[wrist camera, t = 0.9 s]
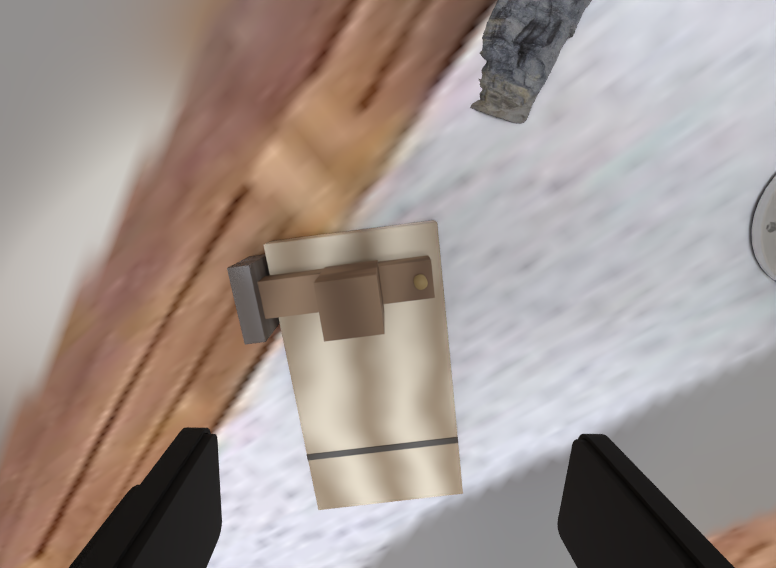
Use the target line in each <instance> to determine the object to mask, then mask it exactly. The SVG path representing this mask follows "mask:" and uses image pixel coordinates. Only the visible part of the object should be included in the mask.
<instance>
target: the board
mask: <svg viewBox="0 0 776 568" xmlns="http://www.w3.org/2000/svg"><path fill="white" fill-rule="evenodd" d="M264 249H265V254H266V259H267V264H268V269H269V273H270V275H277V274H285V273H293V272H301V271H309V270H317V269H324V268H325V267H328V266H336V265H344V264H352V263H359V262H367V261H375V260H378V262H380V261H388V260H395V259H403V258H411V257H419V256H427V255H428V256H429V257H430V259H431V264H432V274H433V284H434V294H435V298H430V299H422V300H414V301H406V302H398V303H390V304H384V321H385V334H382V335H374V336H366V337H358V338H350V339H342V340H334V341H325V342H324V338H323V333H322V327H321V322H320V316H319V312H318V313H310V314H302V315H294V316H286V317H279V322H280V327H281V331H282V336H283V341H284V346H285V351H286V355H287V360H288V365H289V370H290V375H291V380H292V384H293V389H294V394H295V399H296V404H297V409H298V413H299V418H300V423H301V428H302V433H303V438H304V442H305V447H306V452H307V459H308V462H309V466H310V471H311V476H312V481H313V486H314V491H315V495H316V500H317V505H318V510H323V509H332V508H341V507H349V506H358V505H367V504H376V503H384V502H393V501H402V500H411V499H419V498H428V497H437V496H446V495H454V494H463V490H462V479H461V469H460V458H459V448H458V437H457V427H456V416H455V406H454V395H453V385H452V374H451V364H450V353H449V342H448V332H447V321H446V311H445V300H444V290H443V279H442V269H441V258H440V248H439V237H438V227H437V222H436V221H434V220H431V221H423V222H415V223H408V224H400V225H392V226H384V227H377V228H369V229H361V230H353V231H346V232H338V233H330V234H322V235H315V236H307V237H299V238H291V239H283V240H276V241H270V242H268V243H266V244H264Z"/></svg>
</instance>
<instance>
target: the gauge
mask: <svg viewBox="0 0 776 568" xmlns="http://www.w3.org/2000/svg"><path fill="white" fill-rule="evenodd" d="M227 270H228V274H229V279H230V283H231V287H232V292H233V296H234V300H235V304H236V309H237V313H238V317H239V321H240V326H241V330H242V334H243V339H244V343H245V344H252V343H260V342H266V340H267V339H268V338H269V336H270V335H271V334H272V333H273V331H274V330H275V329H276V327H277V326H278V325H279V323H280V322H279V317H286V316H294V315H302V314H310V313H318V312H319V316H320V322H321V327H322V333H323V338H324V342H325V341H334V340H342V339H350V338H358V337H366V336H374V335H382V334H385V321H384V304H390V303H398V302H406V301H414V300H422V299H430V298H435V294H434V284H433V274H432V264H431V259H430V257H429V256H428V255H427V256H419V257H411V258H403V259H395V260H388V261H380V262H378V260H375V261H367V262H359V263H352V264H344V265H336V266H328V267H325V268H324V269H317V270H309V271H301V272H293V273H285V274H277V275H270V273H269V269H268V264H267V259H266V254H265V255H257V256H249V257H247V258H245V259H243V260H242V261H240V262H238V263H236V264H234V265H232V266H230V267H228V268H227Z"/></svg>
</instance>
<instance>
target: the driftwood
mask: <svg viewBox="0 0 776 568" xmlns="http://www.w3.org/2000/svg"><path fill="white" fill-rule="evenodd" d="M591 1H592V0H498V2H497V4H496V6H495V8H494V10H493V12H492V14H491V17H490V19H489V21H488V22H487V26H486V29H485V31H484V33H483V34H484V35H483V37H482V39H483V48H482V51H481V52H480V54H481V56H482V57H483V58H484V59H485V60H486V61H487V63H486V64H485V66H484V67H483V69H482V78H481V80H480V79H479V78H478V79H479V80H480V87H481V88H482V92H481V93H480V100H478V101H476V102H475V103H473V104H472V105H471V107H470V108H472V109H473V108H474V109H476V110H479V111H481V112H484V113H486V114H488V115H489V114H490V115H493V116H495V117H498V118H503V119H505V120H508V121H511V122H514V123H524V122H525V121H526V120H527V118H528V115H529V111H530V109H531V106H532V104H533V103H534V101H535V99H536V97H537V95H538V93H539V91H540V90H541V88H542V86H543V85H544V84H545V82H546V80H547V78H548V76H549V74H550V73H551V70H552V68H553V66H554V64H555V62H556V59H557V57H558V55H559V53H560V50H561V48H562V47H563V45H564V43H565V42H566V40H567V38H568V37H572V36H573V34H574V32H575V29H576V28H577V24H578V23H579V21H580V18H581V16H582V14H583V12H584V10H585V8H586V7H587V6H588V5H589V4H590V2H591Z"/></svg>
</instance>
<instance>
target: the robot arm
mask: <svg viewBox="0 0 776 568" xmlns="http://www.w3.org/2000/svg"><path fill="white" fill-rule="evenodd" d="M752 245H753V249H754V253H755V257H756V259H757V261H758V262H759V264H760V266H761V268H762V269H763V270H764V271H765V272H766V273H767V275H768V276H769V277H771V278H772V279H774V280H775V281H776V176H775V177H774V178H773V180H772V181H771V182H770V184H769V185H768V186H767V188H766V189H765V191H764V193H763V195H762V197H761V199H760V201H759V203H758V206H757V209H756V212H755V215H754V219H753V225H752ZM221 526H222V514H221V496H220V478H219V460H218V441H217V436H216V434H211V433H210V430H209V429H208V428H183V429H182V430H181V431H180V433H179V434H178V435H177V437H176V438H175V439H174V441H173V442H172V443H171V445H170V446H169V447H168V449H167V450H166V451H165V452H164V454H163V455H162V456H161V458H160V459H159V460H158V462H157V463H156V464H155V466H154V467H153V468H152V470H151V471H150V472H149V474H148V475H147V476H146V477H145V479H144V480H143V481H142V483H141V484H140V485H136V486H134V487H132V488H131V489H130V490H129V491H128V492H127V494H126V495H125V496H124V498H123V499H122V500H121V501H120V503H119V504H118V505H117V506H116V508H115V509H114V510H113V512H112V513H111V514H110V515H109V517H108V518H107V519H106V521H105V522H104V523H103V524H102V526H101V527H100V528H99V530H98V531H97V532H96V533H95V535H94V536H93V537H92V538H91V540H90V541H89V542H88V544H87V545H86V546H85V547H84V549H83V550H82V551H81V553H80V554H79V555H78V556H77V558H76V559H75V560H74V561H73V563H72V564H71V565H70V567H69V568H206V567H207V565H208V563H209V560H210V558H211V555H212V553H213V551H214V548H215V546H216V544H217V541H218V539H219V536H220V532H221ZM558 531H559V534H560V537H561V539H562V540H563V543H564V544H565V546H566V548H567V550H568V552H569V553H570V555H571V557H572V559H573V560H574V562H575V564H576V566H577V568H734V567H733V565H732V564H731V563H730V562H729V561H728V560H727V559H726V558H725V557H724V556H723V555H722V554H721V553H720V552H719V551H718V550H717V549H716V548H715V547H714V546H713V545H712V544H711V543H710V542H709V541H708V540H707V539H706V538H705V537H704V536H703V535H702V534H701V532H700V531H699V530H698V529H697V528H696V527H695V526H694V525H693V524H692V523H691V522H690V521H689V520H688V519H687V518H686V517H685V516H684V515H683V514H682V513H681V512H680V511H679V510H678V509H677V508H676V507H675V506H674V505H673V504H672V503H671V502H670V501H669V500H668V498H666V496H665V495H663V493H662V492H661V491H660V490H659V489H658V488H657V487H656V486H655V485H654V484H653V483H652V482H651V481H650V480H649V479H648V478H647V477H646V476H645V475H644V474H643V473H642V472H641V471H640V470H639V469H638V468H637V467H636V466H635V464H634V463H633V462H632V461H631V460H630V459H629V458H628V457H626V455H625V454H624V453H623V452H622V451H621V450H620V449H619V448H618V447H617V446H616V445H615V444H614V443H613V442H612V441H611V440H610V439H609V438H608V437H607V436H606V435H603V434H581V435H580V436H579V438H578V439H576V440H574V442H573V444H572V449H571V454H570V460H569V466H568V470H567V475H566V481H565V486H564V491H563V496H562V502H561V506H560V512H559V517H558Z"/></svg>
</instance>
